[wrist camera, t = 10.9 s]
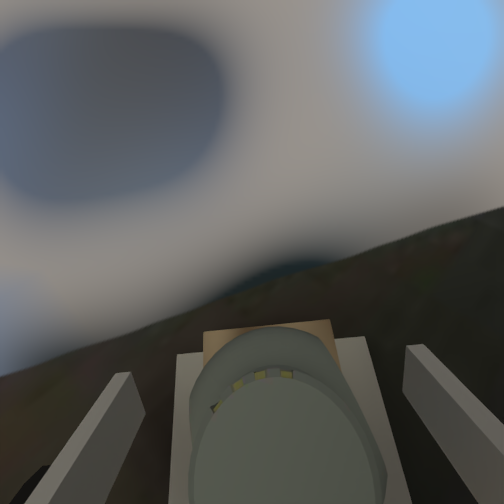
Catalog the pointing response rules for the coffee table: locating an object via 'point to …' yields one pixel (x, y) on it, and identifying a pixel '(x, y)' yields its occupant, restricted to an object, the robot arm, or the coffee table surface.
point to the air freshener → (280, 427)
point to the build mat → (360, 382)
